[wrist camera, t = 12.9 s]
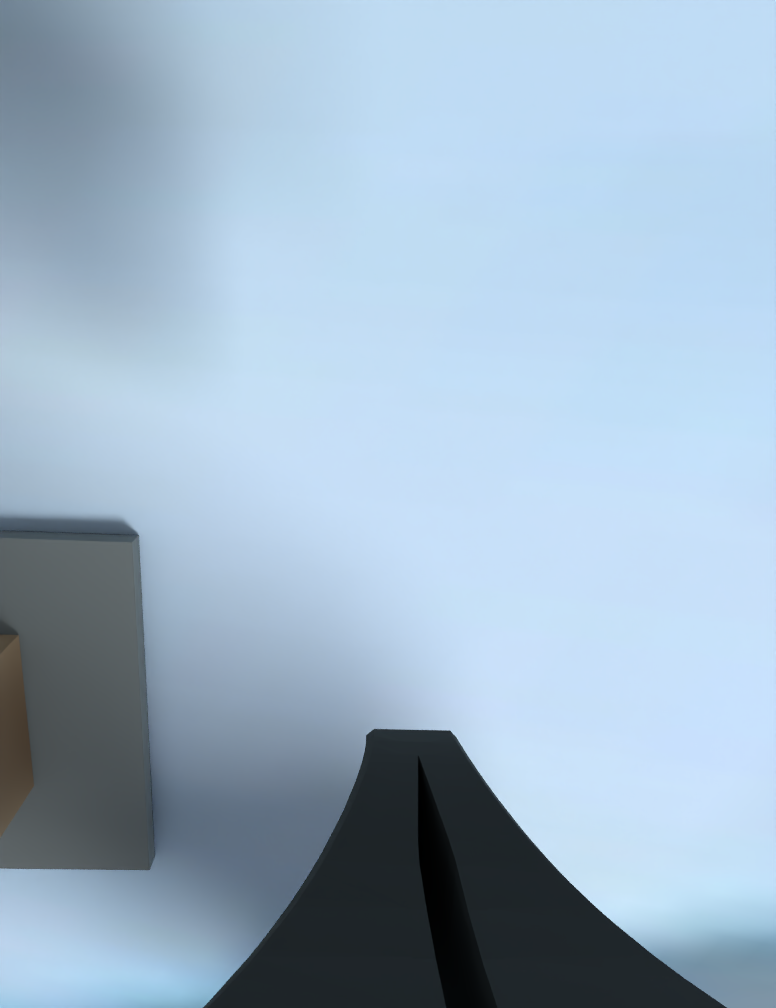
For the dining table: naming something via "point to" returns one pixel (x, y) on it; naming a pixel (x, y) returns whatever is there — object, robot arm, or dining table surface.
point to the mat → (79, 700)
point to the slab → (13, 733)
